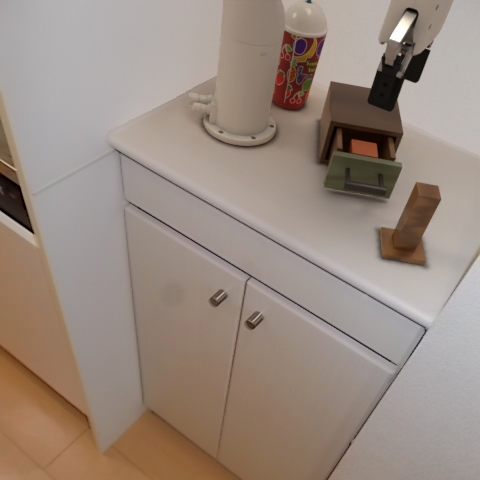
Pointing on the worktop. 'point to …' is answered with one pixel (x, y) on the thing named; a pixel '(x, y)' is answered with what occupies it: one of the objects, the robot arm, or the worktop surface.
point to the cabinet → (355, 116)
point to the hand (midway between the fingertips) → (393, 92)
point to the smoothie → (299, 53)
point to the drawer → (362, 164)
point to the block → (363, 148)
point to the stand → (411, 226)
